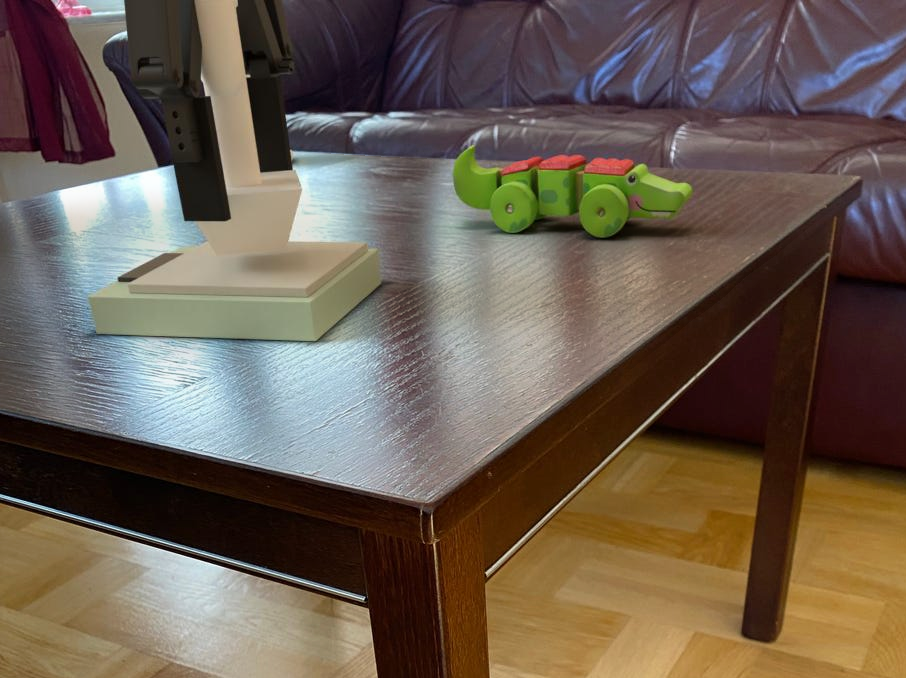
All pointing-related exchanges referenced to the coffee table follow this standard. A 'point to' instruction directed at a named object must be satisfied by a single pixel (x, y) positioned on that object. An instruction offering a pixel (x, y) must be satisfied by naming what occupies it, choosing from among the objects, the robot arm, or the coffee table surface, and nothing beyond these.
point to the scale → (239, 292)
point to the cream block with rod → (240, 145)
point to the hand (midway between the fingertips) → (243, 202)
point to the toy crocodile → (567, 191)
